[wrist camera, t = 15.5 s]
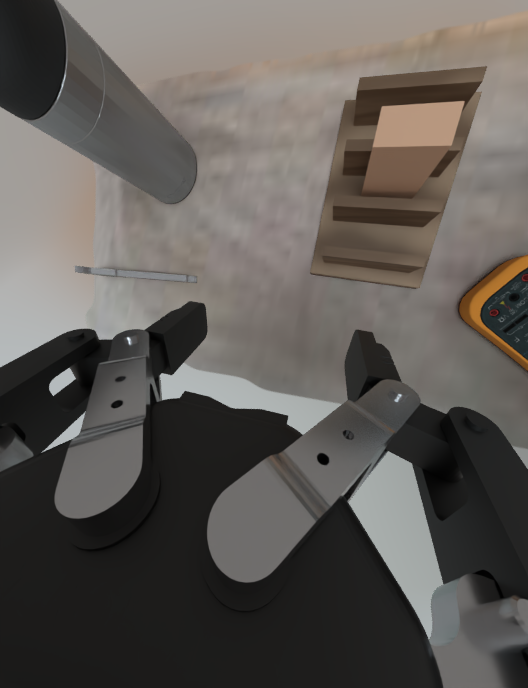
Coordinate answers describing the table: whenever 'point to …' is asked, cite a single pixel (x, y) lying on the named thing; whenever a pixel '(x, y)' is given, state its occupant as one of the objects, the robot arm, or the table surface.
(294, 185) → the table surface
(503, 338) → the multimeter
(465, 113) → the ridged wooden board
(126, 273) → the caliper
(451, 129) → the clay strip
